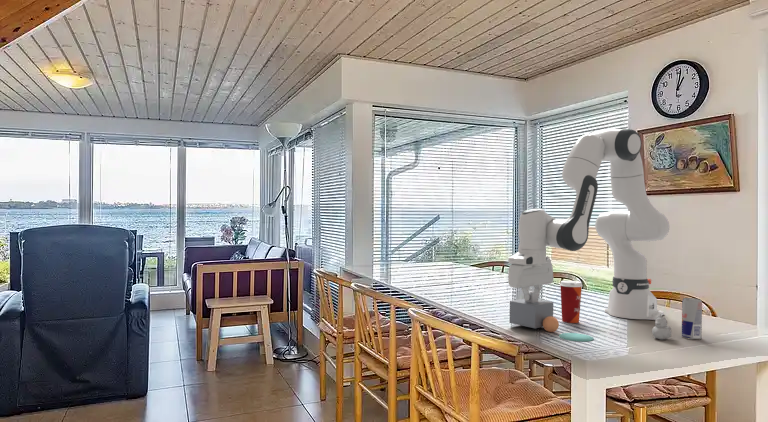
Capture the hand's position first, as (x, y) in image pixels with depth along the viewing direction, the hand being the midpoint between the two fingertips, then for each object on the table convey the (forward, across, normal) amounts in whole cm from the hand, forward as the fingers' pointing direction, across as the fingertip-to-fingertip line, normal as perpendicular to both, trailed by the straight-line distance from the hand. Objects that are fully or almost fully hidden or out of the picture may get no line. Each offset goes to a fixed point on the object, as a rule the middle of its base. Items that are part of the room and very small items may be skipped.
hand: (531, 299), depth 176 cm
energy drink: (+10, -29, +38) cm, 49 cm away
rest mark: (+9, 0, +16) cm, 19 cm away
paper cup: (+10, -20, +2) cm, 22 cm away
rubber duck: (+10, -20, +33) cm, 40 cm away
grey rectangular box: (+8, 0, 0) cm, 8 cm away
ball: (+7, 0, +8) cm, 10 cm away
